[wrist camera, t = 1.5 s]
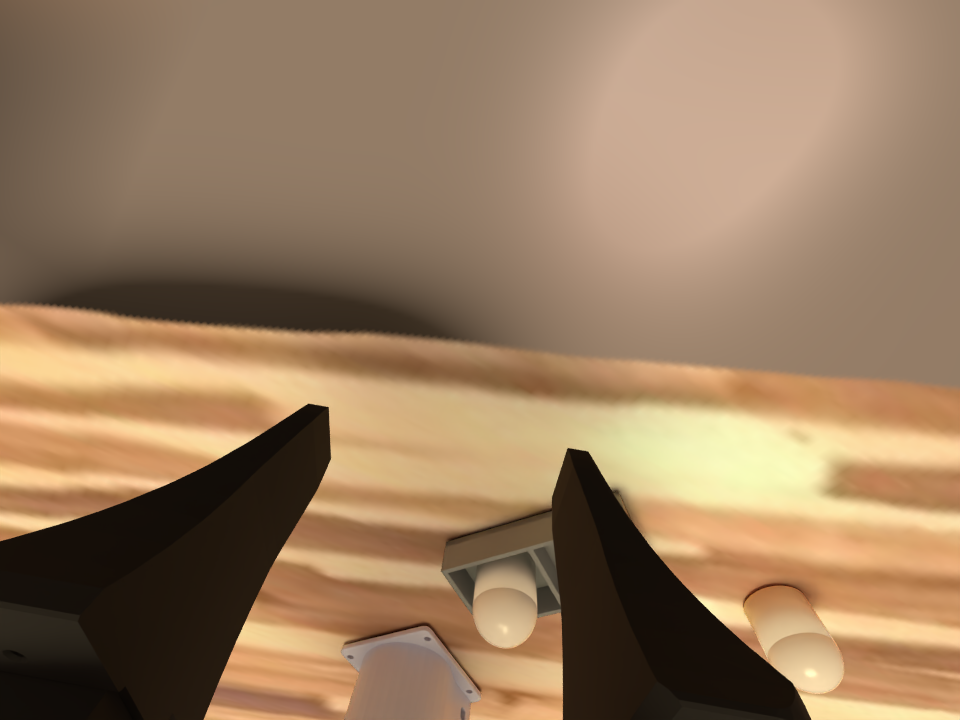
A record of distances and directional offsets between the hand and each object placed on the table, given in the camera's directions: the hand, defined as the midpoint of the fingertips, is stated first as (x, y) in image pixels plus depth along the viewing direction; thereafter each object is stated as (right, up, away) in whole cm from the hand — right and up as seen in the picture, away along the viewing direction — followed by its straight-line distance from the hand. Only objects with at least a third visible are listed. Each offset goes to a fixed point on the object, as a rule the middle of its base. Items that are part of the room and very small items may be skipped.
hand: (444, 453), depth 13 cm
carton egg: (+3, -11, +15) cm, 19 cm away
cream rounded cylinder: (+20, -13, +15) cm, 29 cm away
